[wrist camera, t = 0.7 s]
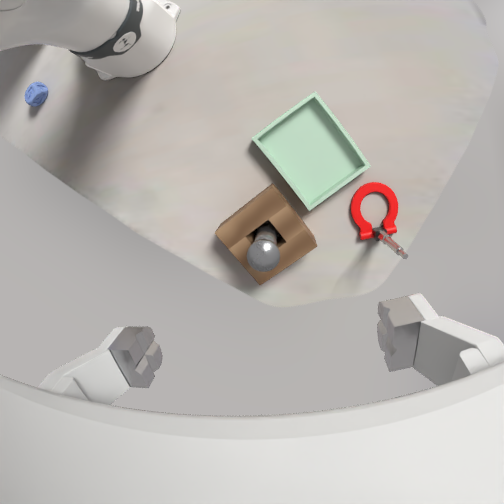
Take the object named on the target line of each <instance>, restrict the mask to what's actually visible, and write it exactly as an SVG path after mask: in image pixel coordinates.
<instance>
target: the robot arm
mask: <svg viewBox="0 0 504 504" xmlns="http://www.w3.org/2000/svg"><path fill="white" fill-rule="evenodd" d="M168 7H170V8H169V9H167V8H168ZM179 13H180V7H179V6H177V5H176V4H174V3H172V2H170V1H167V0H0V51H3V50H7V49H10V48H14V47H19V46H24V45H32V44H45V45H51V46H56V47H61V48H65V49H68V50H69V51H70V52H72V53H74V54H75V55H77V56H79V57H81V58H82V59H83V60H85V62H86V63H85V65H86V66H88V67H90V68H93V69H95V70H96V71H97V73H98V75H99V77H100V78H101V79H102V80H110V79H112V78H115V77H136V76H140V75H142V74H145V73H147V72H149V71H150V70H152V69H153V68H155V67H156V66H157V65H159V64H160V63H161V62H162V61H163V60H164V59H165V57H166V56H167V55H168V53H169V52H170V50H171V48H172V46H173V44H174V41H175V36H176V20H177V18H178V16H179ZM378 314H379V316H380V319H381V320H380V321H379V323H378V324H377V325H378V327H377V333H378V341H379V345H380V348H381V350H382V351H384V352H385V358H384V359H385V361H386V364H387V367H388V369H389V371H390V372H391V371H396V370H401V369H405V368H410V367H413V368H414V369H415V370H417V371H418V372H419V373H421V374H422V375H423V376H425V377H426V378H428V379H429V380H430V381H432V382H433V383H434V384H436V385H437V386H436V387H432V388H429V389H425V390H422V391H419V392H415V393H411V394H407V395H403V396H399V397H395V398H391V399H387V400H382V401H377V402H373V403H367V404H362V405H356V406H350V407H344V408H337V409H331V410H322V411H314V412H304V413H293V414H279V415H258V416H206V415H187V414H173V413H162V412H153V411H145V410H137V409H130V408H124V407H117V406H111V405H110V404H111V403H113V402H114V401H115V400H116V399H118V398H119V397H120V396H121V395H122V394H124V393H125V392H126V391H127V390H128V389H130V387H139V388H149V386H150V384H151V382H152V380H153V379H154V377H155V375H154V372H155V371H156V370H157V369H159V367H160V365H161V363H162V352H161V349H160V346H159V345H158V344H157V343H156V342H154V337H155V335H154V333H153V331H152V329H151V328H150V327H148V326H145V327H144V326H143V327H126V326H125V327H116V328H114V329H113V330H112V332H111V333H110V334H109V335H108V336H107V337H106V339H105V340H104V341H103V342H102V343H101V345H100V346H99V347H98V348H97V349H93V350H91V351H89V352H88V353H86V354H84V355H82V356H80V357H78V358H76V359H74V360H73V361H71V362H69V363H67V364H65V365H63V366H61V367H59V368H57V369H56V370H54V371H52V372H50V373H49V374H48V376H47V377H46V378H45V379H44V380H43V381H42V383H41V384H40V385H39V386H38V387H34V386H31V385H28V384H25V383H22V382H19V381H16V380H13V379H11V378H8V377H5V376H3V375H0V504H504V345H503V343H502V342H501V341H500V340H499V338H498V337H495V336H493V335H490V334H488V333H485V332H483V331H480V330H478V329H475V328H472V327H470V326H467V325H465V324H462V323H459V322H457V321H454V320H452V319H449V318H447V317H444V316H442V317H439V316H438V315H437V314H436V312H435V311H434V309H433V308H432V307H431V306H430V304H429V303H428V302H427V300H426V299H425V298H424V297H423V295H422V294H420V293H416V294H412V295H408V296H405V297H401V298H396V299H391V300H386V301H382V302H379V305H378Z"/></svg>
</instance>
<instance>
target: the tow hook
mask: <svg viewBox="0 0 504 504" xmlns="http://www.w3.org/2000/svg"><path fill="white" fill-rule="evenodd" d="M371 192H380V193H382V194H383V195H385V197H386V198H387V200H388V202H389V211H388V214H387V216H386V218H385V219H384V220H383V227H378V228H373V229H372V225H371V224H370V223H369V222H367V221H365V220H364V218H363V217H362V215H361V212H360V205H361V201H362V200H363V198H364V197H365V196H366V195H367V194H369V193H371ZM397 213H398V202H397V198H396V196H395V194H394V192H393V191H392V190H391V189H390V188H389V187H388V186H386V185H384V184H381V183H377V182H371V183H367V184H365V185H363V186H361V187H360V188H359V189H358V190H357V191H356V192H355V194H354V196H353V198H352V201H351V214H352V217H353V219H354V221H355V223H356V224H357V225H358V226H359V227H360V232H359V235H360V239H361V240H364V239H369V238H374V239H375V240H376V241H379V240H380V241H382V242H383V243H384V244H386V245H388V246H389V247H390V248H391V249H392V250H393V251H394V252H395V253H396V254H397V255H400V256H401V257H402V258H404V259H406V258H407V257H408V255H407V254H406V253H405V252H404V251H403V248H402V247H401V246H399V245H398V244H397V243H396V242H395V241H394V240H392V239H391V237H390V236H389V235H388V234H393V233H396V232H397V229H396V226H395V225H394V221H395V219H396V216H397Z"/></svg>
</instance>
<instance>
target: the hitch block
mask: <svg viewBox="0 0 504 504" xmlns="http://www.w3.org/2000/svg"><path fill="white" fill-rule="evenodd" d="M268 219H269V221H270V222H271V223H272V224H273V226H274V227H275V228H276V229H277V230H278V232H279V233H280V234H281V236H280V237H278V238H277V246H278V248H279V251H280V260H279V263H278V265H277V266H276V267H275V268H274V269H272V270H270V271H267V272H260V271H257V270H255V269H253V268H252V267H251V266H250V265H249V263H248V260H247V252H248V249H249V247H250V245H251V244H252V243H253V242H254V241H255V237H256V235H255V234H254V233H253V232H252V231H254V230H255V229H256V228H258V227H259V226H260V225H262V224H263V223H264V222H266V221H267V220H268ZM215 234H216V235H217V236H218V238H219V239H220V240H221V241H222V242H223V243H224V244H225V246H226V247H227V248H228V249H229V250H230V251H231V253H232V254H233V255H234V256H235V257H236V258H237V260H238V261H239V262H240V263H241V264H242V265H243V266H244V268H245V269H246V270H247V271H248V272H249V273H250V274H251V276H252V277H253V278H254V279H255V280H256V281H257V282H258V284H259V285H261V284H263V283H264V282H266V281H267V280H269V279H270V278H272V277H273V276H275V275H276V274H278V273H279V272H281V271H282V270H284V269H285V268H287V267H288V266H289V265H291V264H292V263H294V262H295V261H297V260H298V259H300V258H301V257H303V256H304V255H305V254H307V253H308V252H310V251H311V250H313V249H314V248H316V247H317V244H316V241H315V238H314V235H313V234H312V233H311V231H310V230H309V229H308V227H307V226H306V225H305V223H304V222H303V221H302V219H301V218H300V217H299V215H298V214H297V213H296V212H295V210H294V209H293V208H292V206H291V205H290V204H289V202H288V201H287V200H286V199H285V197H284V196H283V195H282V194H281V192H280V191H279V190H278V189H277V187H276V186H275V185H274V184H273V183H272V184H271V185H270V186H269V187H267V188H266V189H265V190H263V191H262V192H261V193H259V194H258V195H257V196H256V197H254V198H253V199H252V200H250V201H249V202H248V203H247V204H245V205H244V206H243V207H241V208H240V209H239V210H238V211H236V212H235V213H234V214H233V215H231V216H230V217H229V218H228V219H226V220H225V221H224V222H223V223H221V224H220V226H219V227H218V229H217V230H216V232H215Z"/></svg>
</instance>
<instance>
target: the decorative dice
mask: <svg viewBox="0 0 504 504" xmlns="http://www.w3.org/2000/svg"><path fill="white" fill-rule="evenodd" d="M47 94H48V89H47V87H46V86H45V85H44V84H43V83H41V82H35V83H32V84H31V85H30V86H29V87H28V88H27V90H26V92H25V101H26V102H27V103H28V104H29V105H31V106H38V105H40V104H42V103H43V102H44V101H45V99H46V97H47Z"/></svg>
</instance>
